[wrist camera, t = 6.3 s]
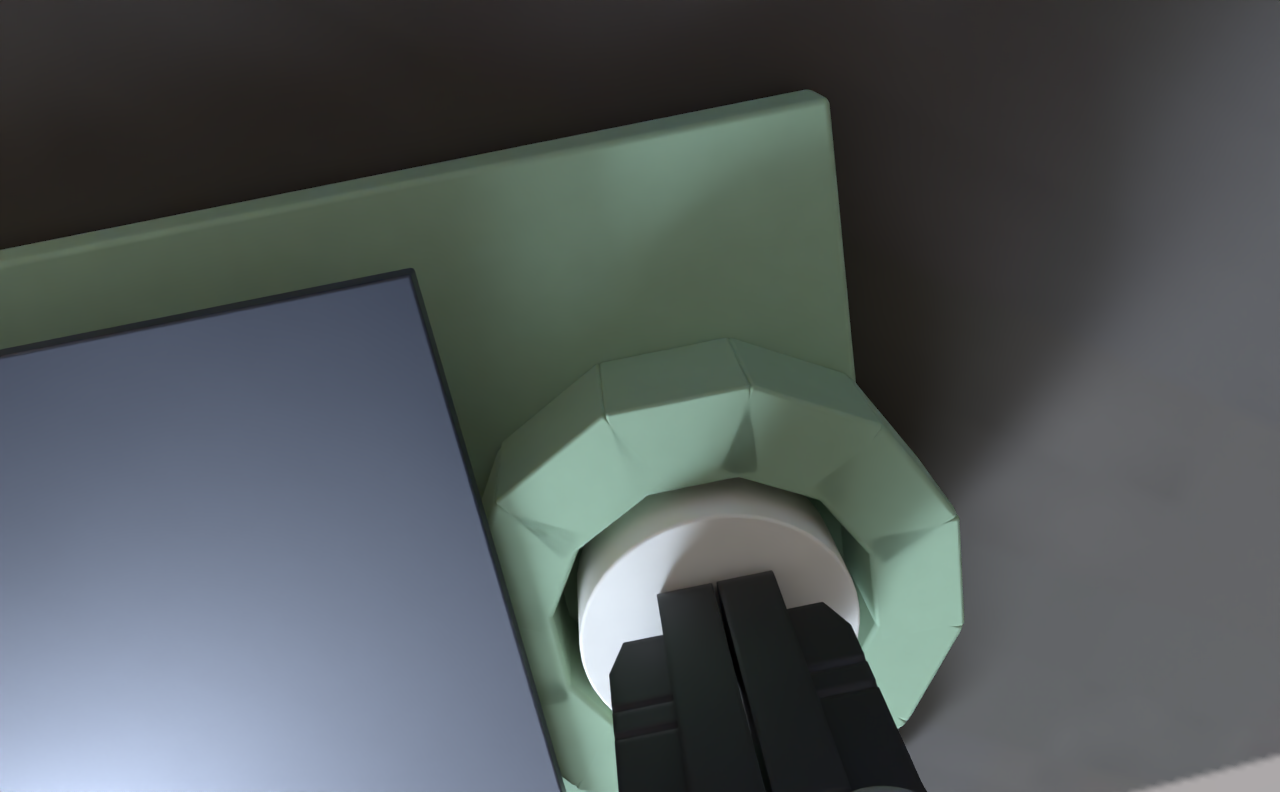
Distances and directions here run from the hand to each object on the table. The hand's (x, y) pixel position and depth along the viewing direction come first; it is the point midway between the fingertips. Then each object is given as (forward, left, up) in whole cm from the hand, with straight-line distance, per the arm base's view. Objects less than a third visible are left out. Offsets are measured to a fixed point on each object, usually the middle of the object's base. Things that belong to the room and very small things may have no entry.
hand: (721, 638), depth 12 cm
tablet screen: (+8, 0, 0) cm, 8 cm away
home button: (0, 0, -1) cm, 1 cm away
